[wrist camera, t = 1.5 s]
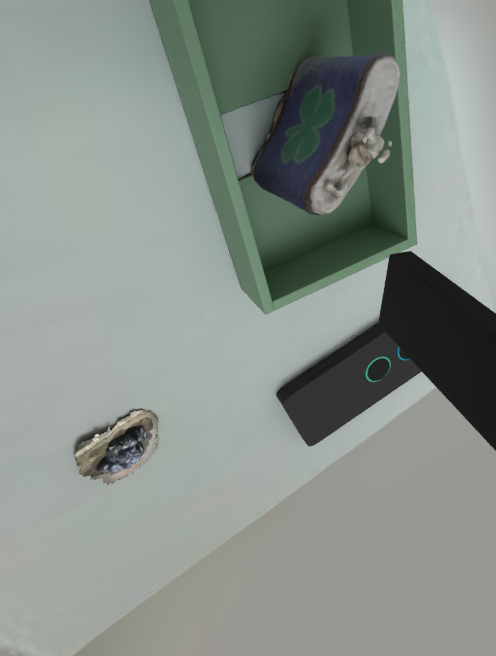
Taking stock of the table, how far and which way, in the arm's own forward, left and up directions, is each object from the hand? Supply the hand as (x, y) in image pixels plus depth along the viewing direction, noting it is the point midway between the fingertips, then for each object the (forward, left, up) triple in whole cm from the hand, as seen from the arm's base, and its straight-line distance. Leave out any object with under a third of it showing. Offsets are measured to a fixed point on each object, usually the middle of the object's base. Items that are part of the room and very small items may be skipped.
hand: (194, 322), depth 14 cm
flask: (+1, +13, -20) cm, 24 cm away
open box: (+1, +13, -21) cm, 24 cm away
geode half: (+21, -8, -21) cm, 30 cm away
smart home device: (+26, +17, -21) cm, 37 cm away
